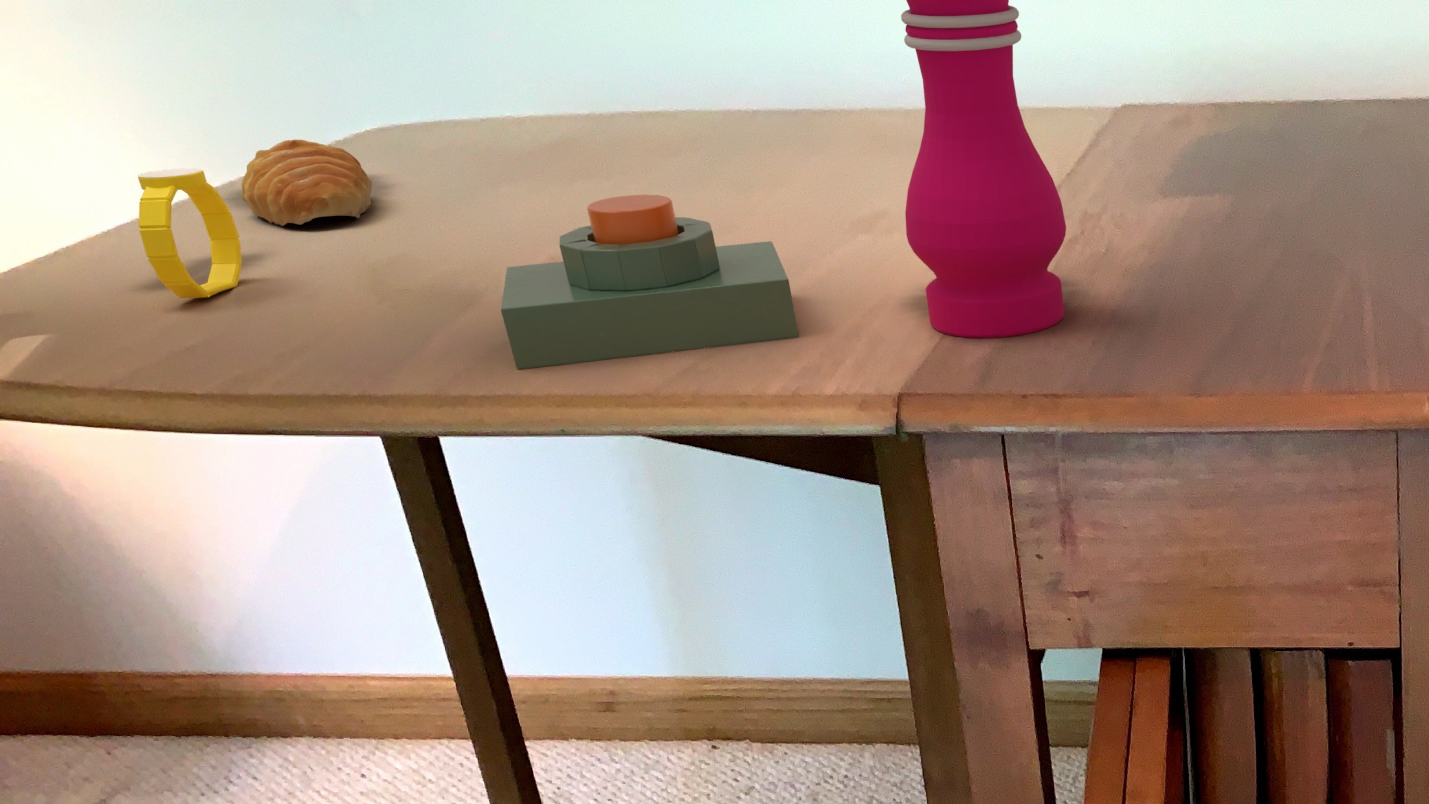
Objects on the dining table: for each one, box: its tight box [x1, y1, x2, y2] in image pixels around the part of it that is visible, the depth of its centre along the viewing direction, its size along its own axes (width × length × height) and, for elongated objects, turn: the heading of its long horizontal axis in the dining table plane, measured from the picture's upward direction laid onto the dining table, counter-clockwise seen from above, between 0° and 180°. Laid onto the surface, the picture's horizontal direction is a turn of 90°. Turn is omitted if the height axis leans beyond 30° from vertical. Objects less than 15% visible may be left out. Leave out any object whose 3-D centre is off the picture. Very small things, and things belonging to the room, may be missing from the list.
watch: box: [137, 167, 243, 299], centre depth 85 cm, size 6×3×6 cm, turn 4°
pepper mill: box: [900, 0, 1067, 339], centre depth 75 cm, size 7×7×20 cm
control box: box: [500, 216, 800, 371], centre depth 79 cm, size 12×8×4 cm, turn 112°
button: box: [586, 194, 679, 244], centre depth 77 cm, size 4×4×2 cm
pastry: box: [241, 139, 373, 227], centre depth 101 cm, size 9×7×4 cm
